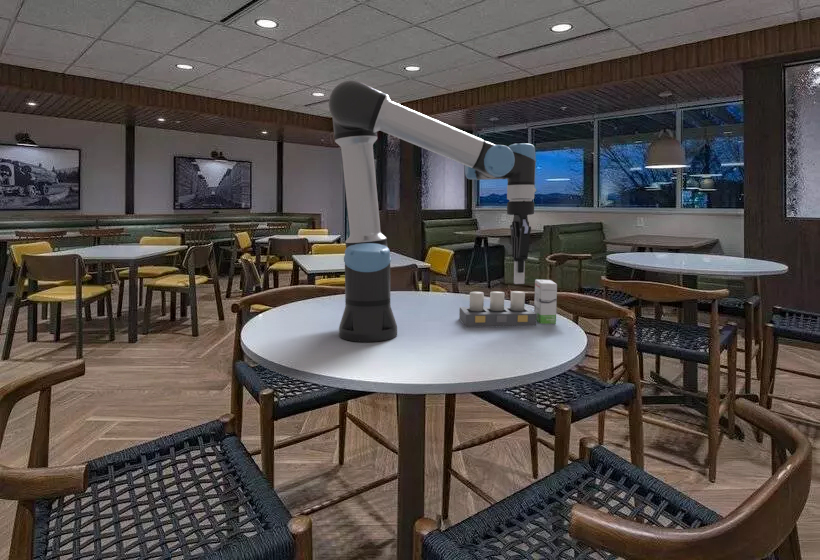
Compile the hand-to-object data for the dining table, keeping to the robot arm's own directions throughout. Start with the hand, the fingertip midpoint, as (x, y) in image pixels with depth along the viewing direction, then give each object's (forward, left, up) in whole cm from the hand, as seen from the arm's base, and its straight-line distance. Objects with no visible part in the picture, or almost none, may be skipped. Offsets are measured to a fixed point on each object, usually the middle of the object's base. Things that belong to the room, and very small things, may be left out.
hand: (519, 283), depth 149 cm
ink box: (+8, +1, -12) cm, 14 cm away
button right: (0, 0, -8) cm, 8 cm away
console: (-6, 0, -11) cm, 13 cm away
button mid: (-6, 0, -8) cm, 10 cm away
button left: (-12, 0, -8) cm, 14 cm away
